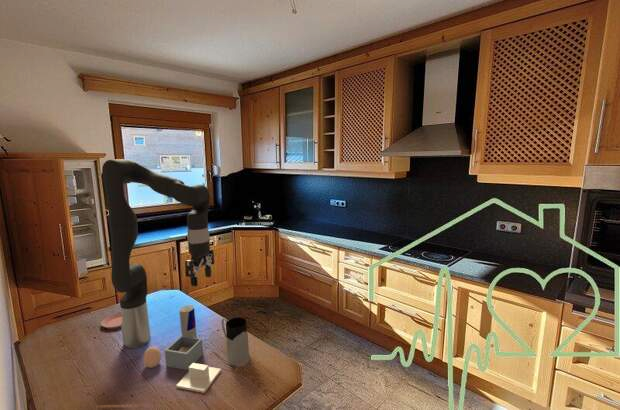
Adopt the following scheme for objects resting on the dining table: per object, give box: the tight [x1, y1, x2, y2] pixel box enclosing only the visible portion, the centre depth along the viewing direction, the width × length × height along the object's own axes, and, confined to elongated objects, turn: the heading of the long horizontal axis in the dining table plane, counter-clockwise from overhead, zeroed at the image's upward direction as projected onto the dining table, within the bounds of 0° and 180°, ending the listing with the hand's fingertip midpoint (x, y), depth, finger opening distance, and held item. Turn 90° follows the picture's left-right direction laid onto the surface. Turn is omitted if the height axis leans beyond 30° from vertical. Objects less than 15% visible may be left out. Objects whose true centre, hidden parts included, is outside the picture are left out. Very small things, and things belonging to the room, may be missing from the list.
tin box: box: [164, 335, 204, 371], centre depth 114 cm, size 9×9×7 cm
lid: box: [175, 362, 222, 394], centre depth 104 cm, size 10×10×5 cm
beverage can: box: [179, 304, 198, 338], centre depth 125 cm, size 6×6×15 cm
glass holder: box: [221, 316, 251, 368], centre depth 116 cm, size 9×14×15 cm, turn 48°
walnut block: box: [179, 347, 192, 353], centre depth 114 cm, size 4×4×4 cm
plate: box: [100, 311, 122, 330], centre depth 143 cm, size 14×14×2 cm
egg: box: [142, 346, 162, 369], centre depth 112 cm, size 6×6×8 cm
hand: (201, 281), depth 115 cm, fingers open, 8 cm apart
